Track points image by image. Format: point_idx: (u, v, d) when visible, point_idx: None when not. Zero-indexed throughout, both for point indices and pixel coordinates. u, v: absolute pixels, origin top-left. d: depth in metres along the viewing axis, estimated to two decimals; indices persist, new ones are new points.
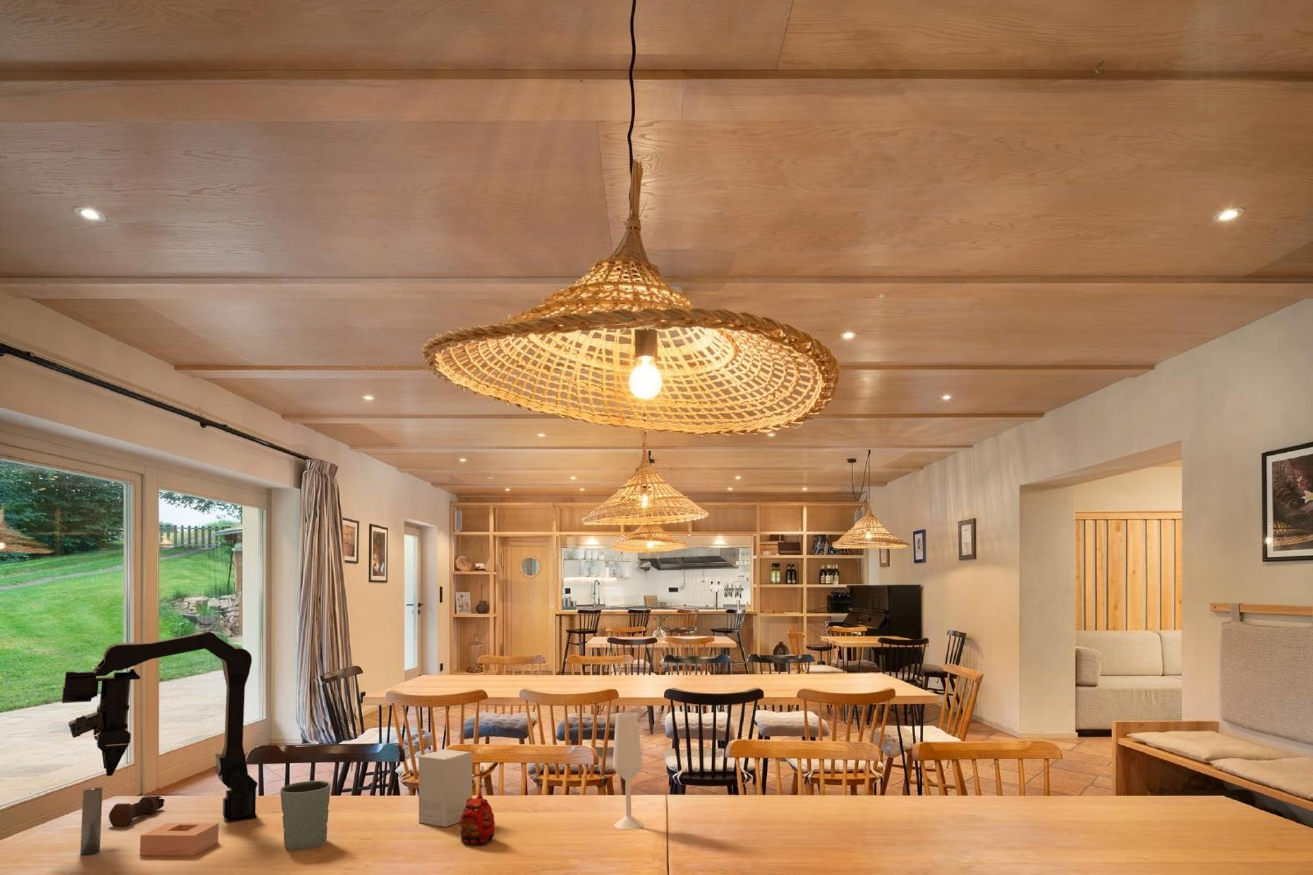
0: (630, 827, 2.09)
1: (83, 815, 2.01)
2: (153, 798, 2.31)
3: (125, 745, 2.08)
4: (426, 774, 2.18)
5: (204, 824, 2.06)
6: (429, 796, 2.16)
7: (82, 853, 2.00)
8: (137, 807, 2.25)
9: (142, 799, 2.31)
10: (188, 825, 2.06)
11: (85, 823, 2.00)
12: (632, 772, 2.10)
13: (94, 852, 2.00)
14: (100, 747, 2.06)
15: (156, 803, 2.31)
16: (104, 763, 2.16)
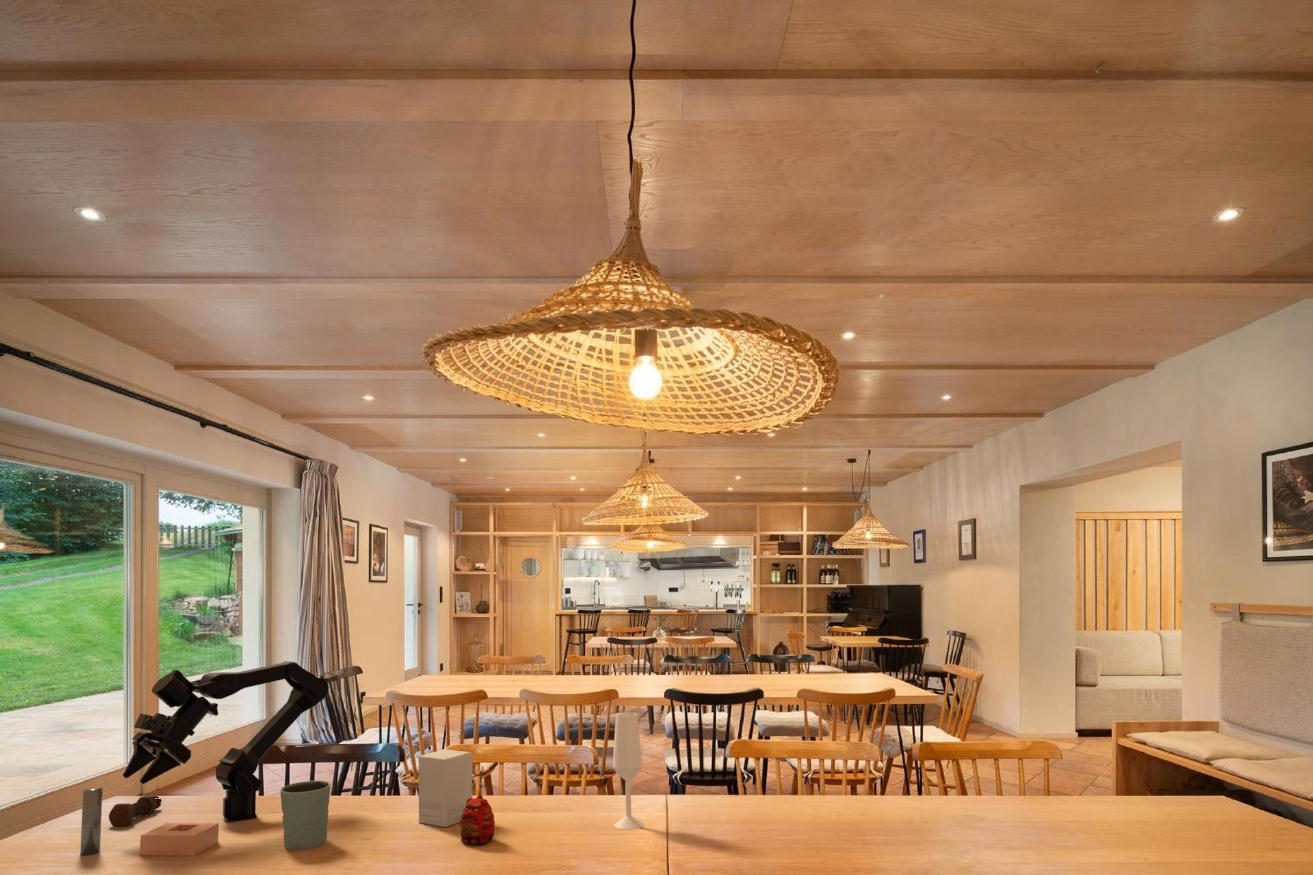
0: (630, 827, 2.09)
1: (83, 815, 2.01)
2: (151, 798, 2.31)
3: (179, 763, 2.09)
4: (426, 774, 2.18)
5: (204, 824, 2.06)
6: (429, 796, 2.16)
7: (82, 853, 2.00)
8: (136, 807, 2.25)
9: (140, 799, 2.31)
10: (188, 825, 2.06)
11: (85, 823, 2.00)
12: (632, 772, 2.10)
13: (94, 852, 2.00)
14: (163, 751, 2.07)
15: (154, 803, 2.31)
16: (126, 771, 2.12)
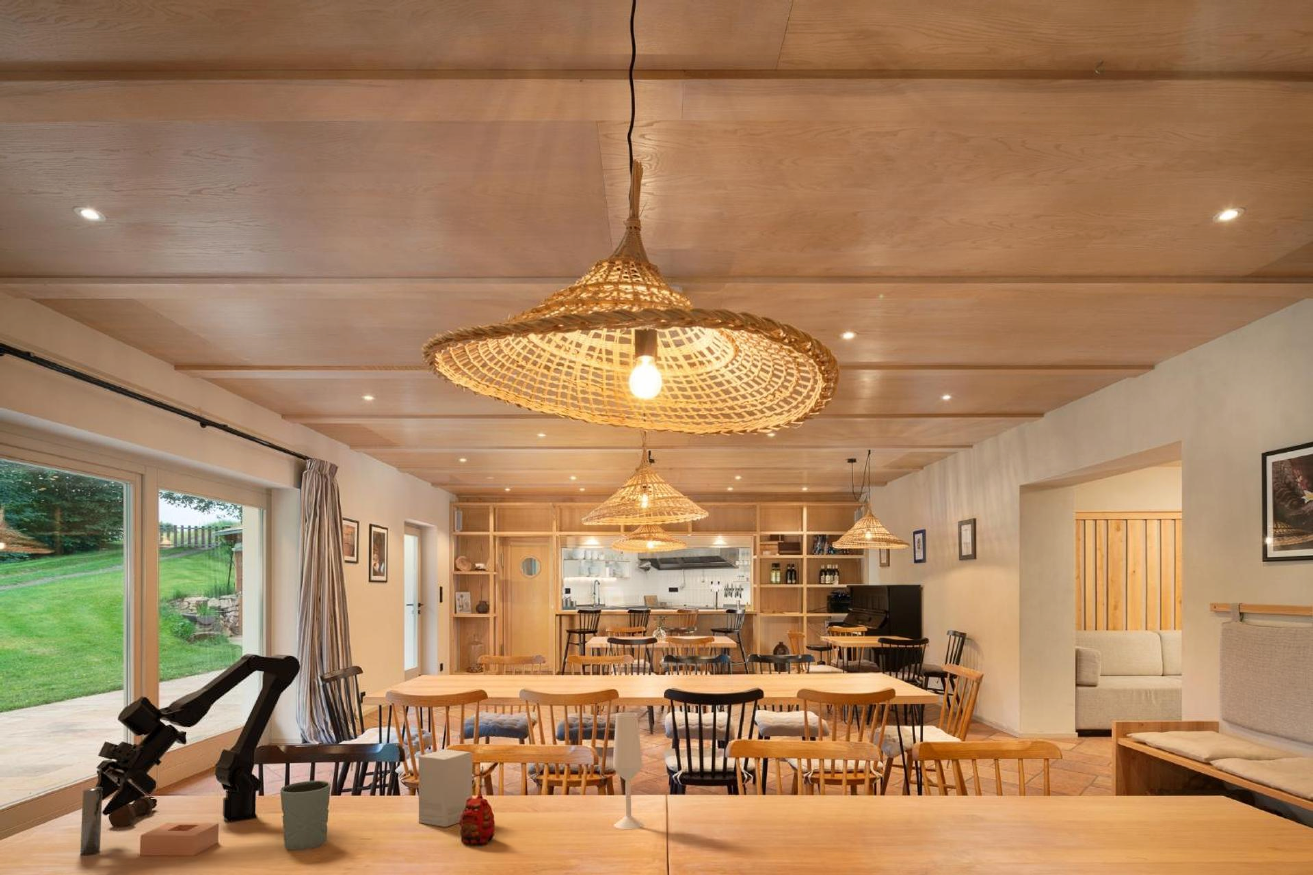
0: (630, 827, 2.09)
1: (83, 815, 2.01)
2: (148, 798, 2.31)
3: (143, 794, 2.03)
4: (426, 774, 2.18)
5: (204, 824, 2.06)
6: (429, 796, 2.16)
7: (82, 853, 2.00)
8: (135, 808, 2.25)
9: (137, 800, 2.30)
10: (188, 825, 2.06)
11: (85, 823, 2.00)
12: (632, 772, 2.10)
13: (94, 852, 2.00)
14: (127, 781, 2.01)
15: (151, 803, 2.31)
16: None
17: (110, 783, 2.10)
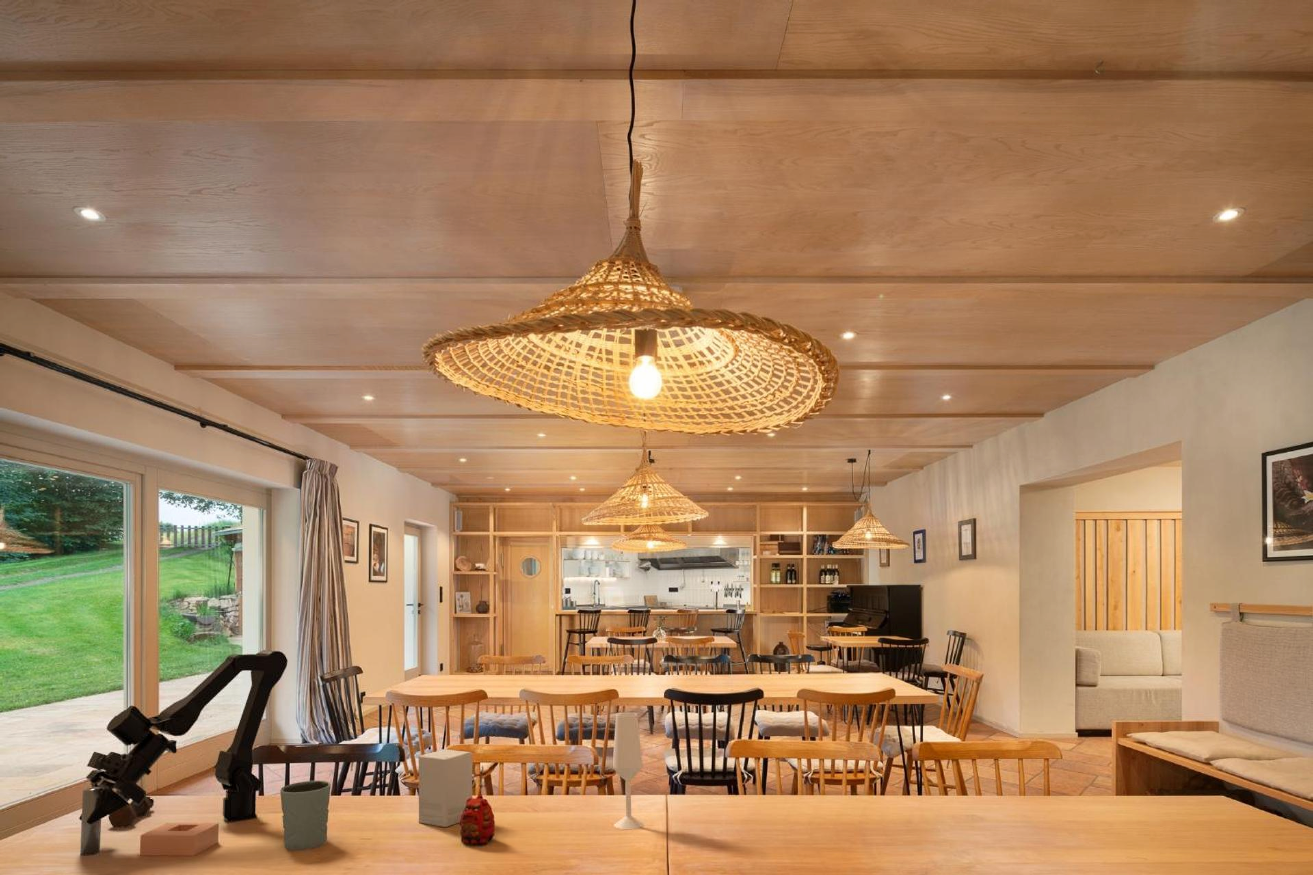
0: (630, 827, 2.09)
1: (83, 815, 2.01)
2: (146, 798, 2.31)
3: (127, 803, 2.03)
4: (426, 774, 2.18)
5: (204, 824, 2.06)
6: (429, 796, 2.16)
7: (82, 853, 2.00)
8: (135, 808, 2.25)
9: None
10: (188, 825, 2.06)
11: (85, 823, 2.00)
12: (632, 772, 2.10)
13: (94, 852, 2.00)
14: (111, 790, 2.01)
15: (149, 803, 2.31)
16: None
17: None
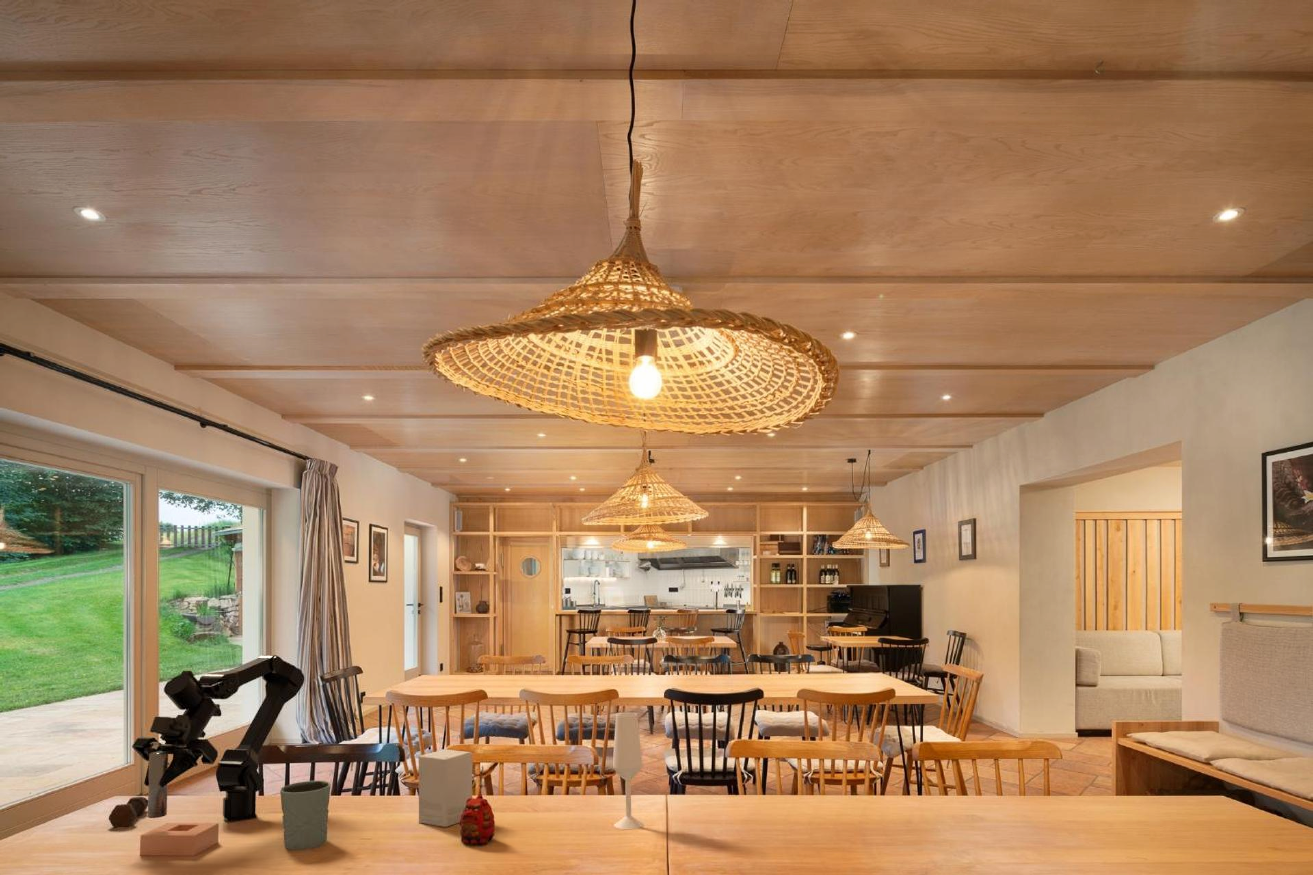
0: (630, 827, 2.09)
1: (153, 779, 2.02)
2: (142, 799, 2.31)
3: (197, 764, 2.07)
4: (426, 774, 2.18)
5: (204, 824, 2.06)
6: (429, 796, 2.16)
7: (153, 816, 2.01)
8: (134, 808, 2.25)
9: (131, 800, 2.30)
10: (188, 825, 2.06)
11: (156, 786, 2.02)
12: (632, 772, 2.10)
13: (164, 814, 2.02)
14: (185, 751, 2.04)
15: (145, 803, 2.31)
16: (148, 778, 2.03)
17: None
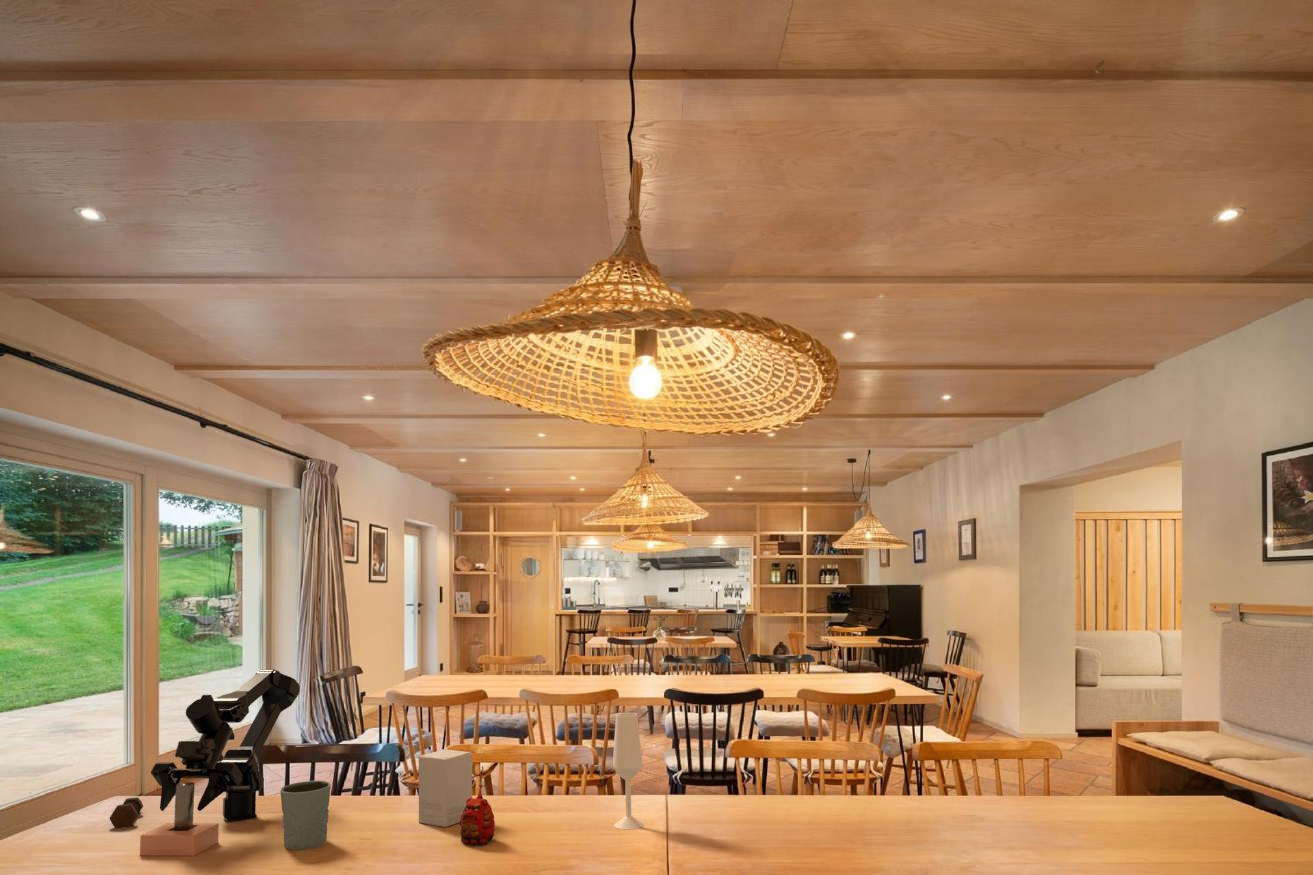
0: (630, 827, 2.09)
1: (181, 810, 2.03)
2: (138, 799, 2.31)
3: (230, 787, 2.09)
4: (426, 774, 2.18)
5: (204, 824, 2.06)
6: (429, 796, 2.16)
7: None
8: None
9: (126, 801, 2.29)
10: None
11: (184, 817, 2.03)
12: (632, 772, 2.10)
13: None
14: (222, 775, 2.06)
15: (141, 804, 2.31)
16: (163, 803, 2.04)
17: (173, 784, 2.09)
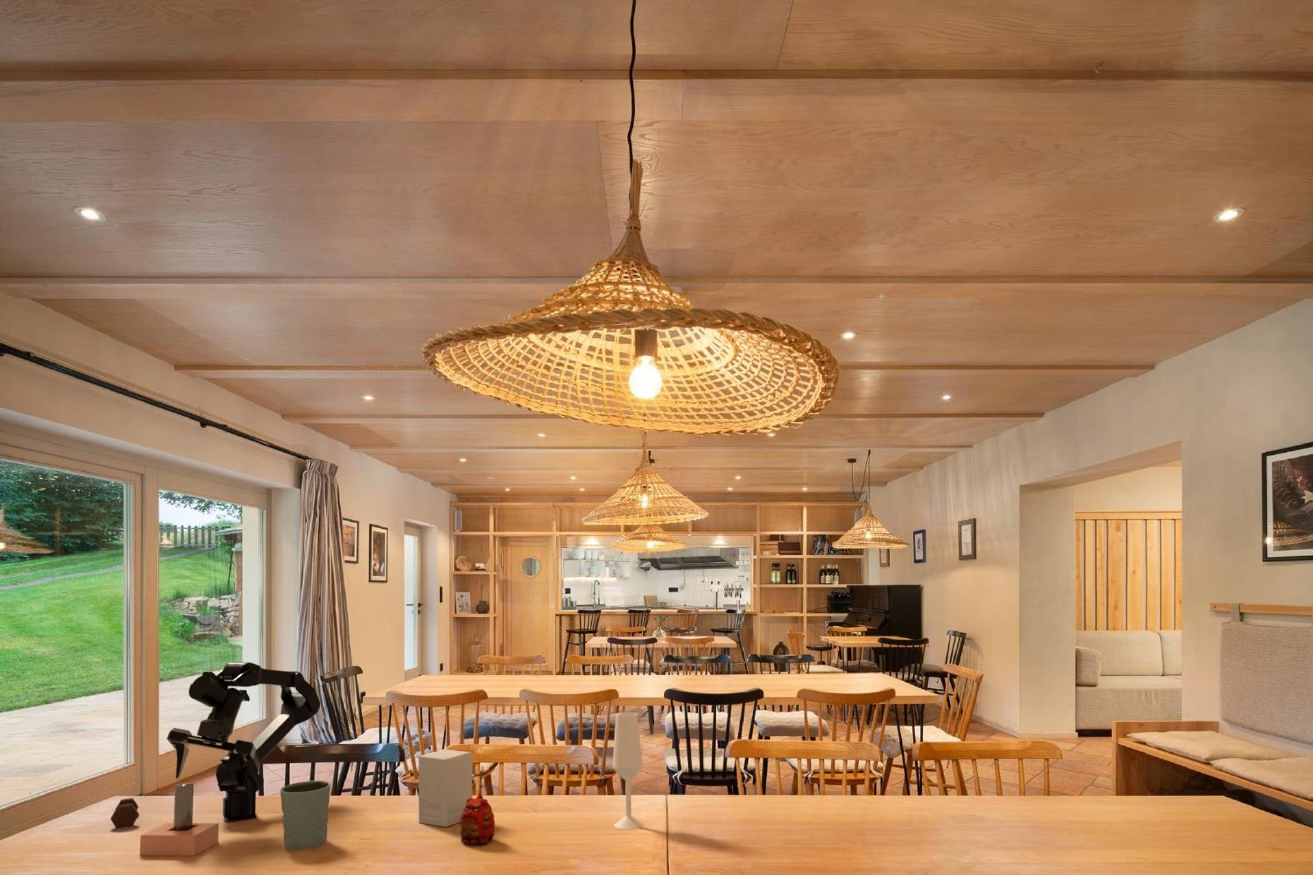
0: (630, 827, 2.09)
1: (180, 810, 2.03)
2: (133, 800, 2.30)
3: (246, 760, 2.21)
4: (426, 774, 2.18)
5: (204, 824, 2.06)
6: (429, 796, 2.16)
7: None
8: None
9: (122, 802, 2.28)
10: None
11: (184, 818, 2.03)
12: (632, 772, 2.10)
13: None
14: (242, 756, 2.17)
15: (136, 804, 2.30)
16: (179, 772, 2.15)
17: (186, 750, 2.18)
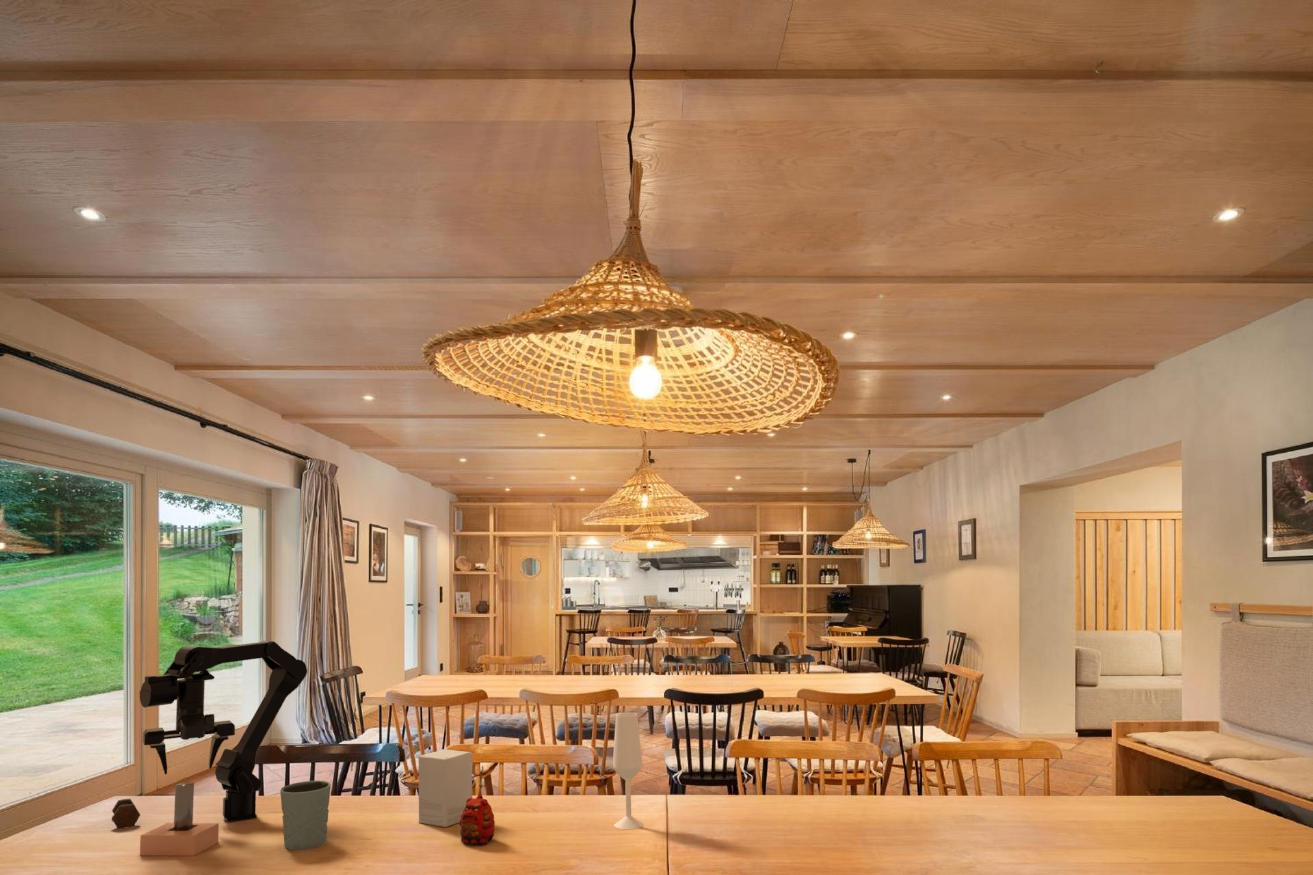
0: (630, 827, 2.09)
1: (180, 810, 2.03)
2: (131, 800, 2.30)
3: None
4: (426, 774, 2.18)
5: (204, 824, 2.06)
6: (429, 796, 2.16)
7: None
8: None
9: (120, 803, 2.28)
10: None
11: (184, 818, 2.03)
12: (632, 772, 2.10)
13: None
14: None
15: None
16: (166, 768, 2.15)
17: None
